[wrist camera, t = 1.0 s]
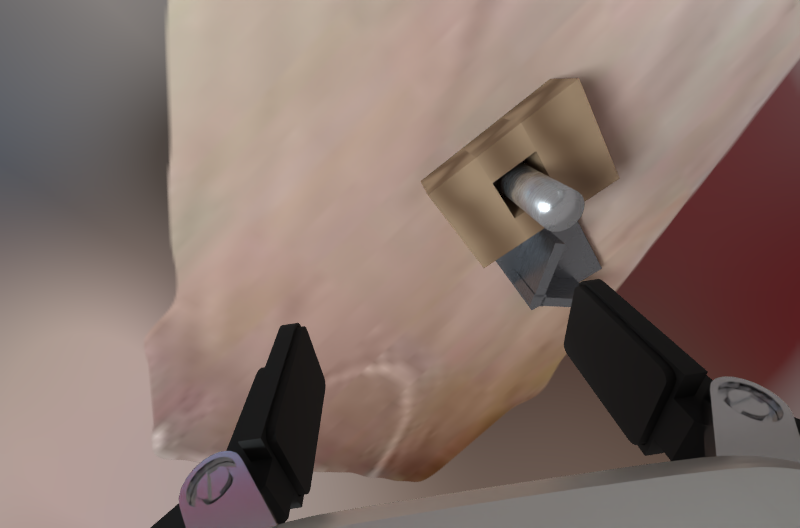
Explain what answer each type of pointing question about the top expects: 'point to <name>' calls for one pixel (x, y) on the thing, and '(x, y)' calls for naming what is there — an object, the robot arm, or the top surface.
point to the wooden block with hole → (507, 147)
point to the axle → (542, 197)
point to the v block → (550, 266)
